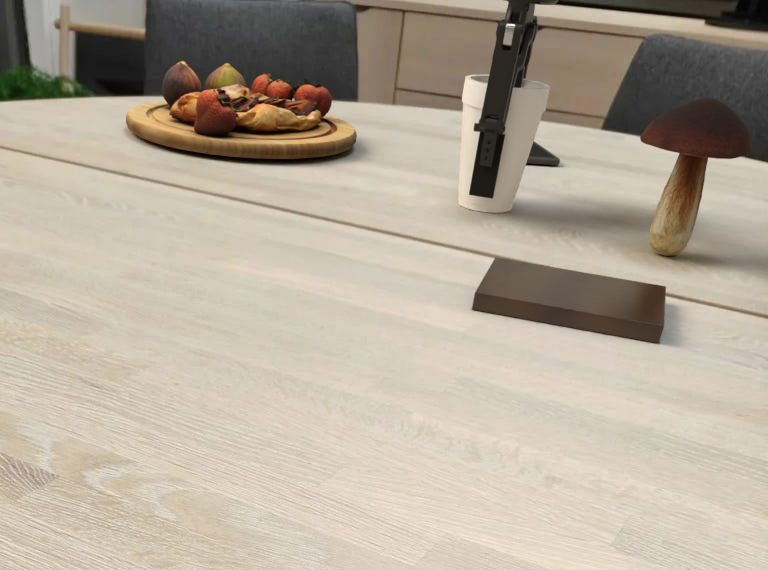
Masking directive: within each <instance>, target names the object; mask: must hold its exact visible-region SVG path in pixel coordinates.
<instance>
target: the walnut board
mask: <svg viewBox="0 0 768 570" xmlns="http://www.w3.org/2000/svg"><path fill="white" fill-rule="evenodd" d="M666 292H667V286H665V285H660V284H654V283H648V282H643V281H638V280H631V279H625V278H620V277H613V276H607V275H601V274H596V273H589V272H584V271H577V270H572V269H566V268H559V267H555V266H549V265H543V264H537V263H530V262H526V261H525V262H524V261H519V260H513V259H507V258H501V257H494V259H493V261H492V262H491V264H490V266H489V268H487V271H486V273H485V275H484V276H483V277H482V279H481V282H480V283H479V285H478V287H477V288H476V289H475V292H474V295H473V301H472V305H471V306H472V307H471V310H473V311H478V312H484V313H489V314H496V315H501V316H506V317H511V318H516V319H523V320H527V321H534V322H540V323H544V324H551V325H555V326H560V327H567V328H572V329H578V330H583V331H589V332H594V333H599V334H605V335H612V336H616V337H622V338H628V339H631V340H632V339H633V340H637V341H638V340H639V341H644V342H650V343H655V344H660V340H661V337H662V334H663V331H664V328H665V317H666V316H665V315H666V314H665V313H666V297H667V293H666Z"/></svg>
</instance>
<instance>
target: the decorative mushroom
mask: <svg viewBox="0 0 768 570" xmlns="http://www.w3.org/2000/svg"><path fill="white" fill-rule="evenodd" d="M639 139H640V142H641V143H642V144H644V145H647V146H648V145H649V146H651V147H654V148H658V149H660V150H664V151H668V152H671V153H672V152H673V153H677V154H678V156H677V159H676V161H675V164H674V166H673V169H672V171H671V173H670V175H669V177H668V179H667V182H666V184H665V186H664V188H663V190H662V194H661V196H660V199H659V201H658V204H657V207H656V209H655V211H654V212H655V213H654V216H653V219H652V222H651V225H650V229H649V233H648V237H649V239H648V240H649V245H650V247H651V248H652V250H653V251H654V252H656V253H657V254H658V255H661V256H671V257H672V256H675V255H676V256H677V255H678V254H680V253H681V252H682V251H684V250H685V249H686V248H687V246H688V244H689V242H690V240H691V238H692V236H693V233H694V229H695V226H696V221H697V217H698V214H699V210H700V205H701V202H702V197H703V191H704V185H705V180H706V171H707V166H708V162H709V159H716V160H717V159H719V160H734V159H737V158H740V157H743V156H745V155H747V154H752V153H754V144H753V137H752V134H751V132H750V130H749V128H748V126H747V125H746V124H745V122H744V121H743V120H742V118H741V117H740V116H739V115H738V114H737V113H736V112H735V111H734V110H733V109H732V108H731V107H729V106H728V105H727V104H725V103H724V102H722V101H720V100H719V99H716V98H713V97H701V98H697V99H694V100H692V101H691V100H690V101H689V102H686V103H683V104H681V105H677V106H676V107H673V108H671V109H669V110H668V111H665V112H662V114H660V115H658V116H657V117H655V118H654V119H653V120H652V121H651V122H650V123H649V124H648V125H647V126H646V128H645V129H644V130H643V132H642V133H641V135H639Z"/></svg>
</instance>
